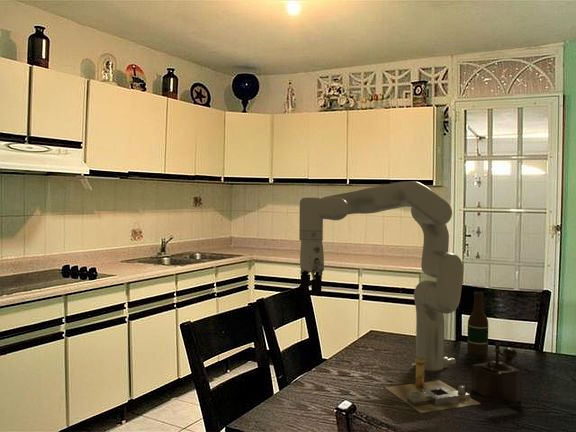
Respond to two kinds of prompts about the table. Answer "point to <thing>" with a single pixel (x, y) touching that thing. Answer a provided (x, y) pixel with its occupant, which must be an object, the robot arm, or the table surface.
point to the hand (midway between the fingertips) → (310, 289)
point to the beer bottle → (477, 328)
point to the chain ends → (437, 396)
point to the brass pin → (420, 372)
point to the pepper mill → (498, 377)
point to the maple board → (409, 388)
